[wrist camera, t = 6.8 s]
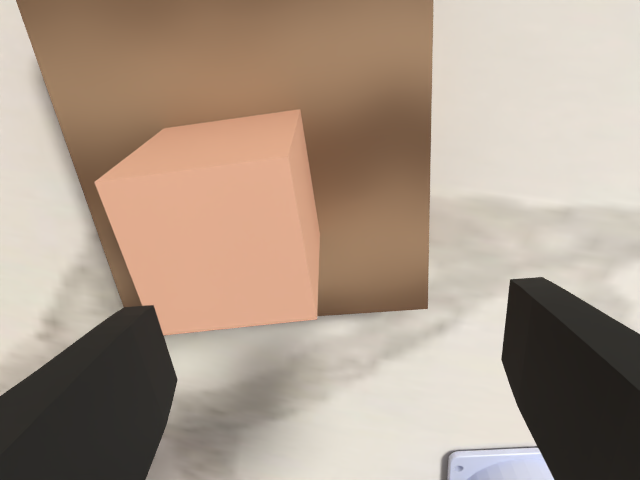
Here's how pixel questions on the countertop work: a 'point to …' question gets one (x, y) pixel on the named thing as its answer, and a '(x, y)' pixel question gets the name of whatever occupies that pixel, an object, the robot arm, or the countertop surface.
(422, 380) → the countertop surface
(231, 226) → the terracotta block
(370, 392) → the countertop surface
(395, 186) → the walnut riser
